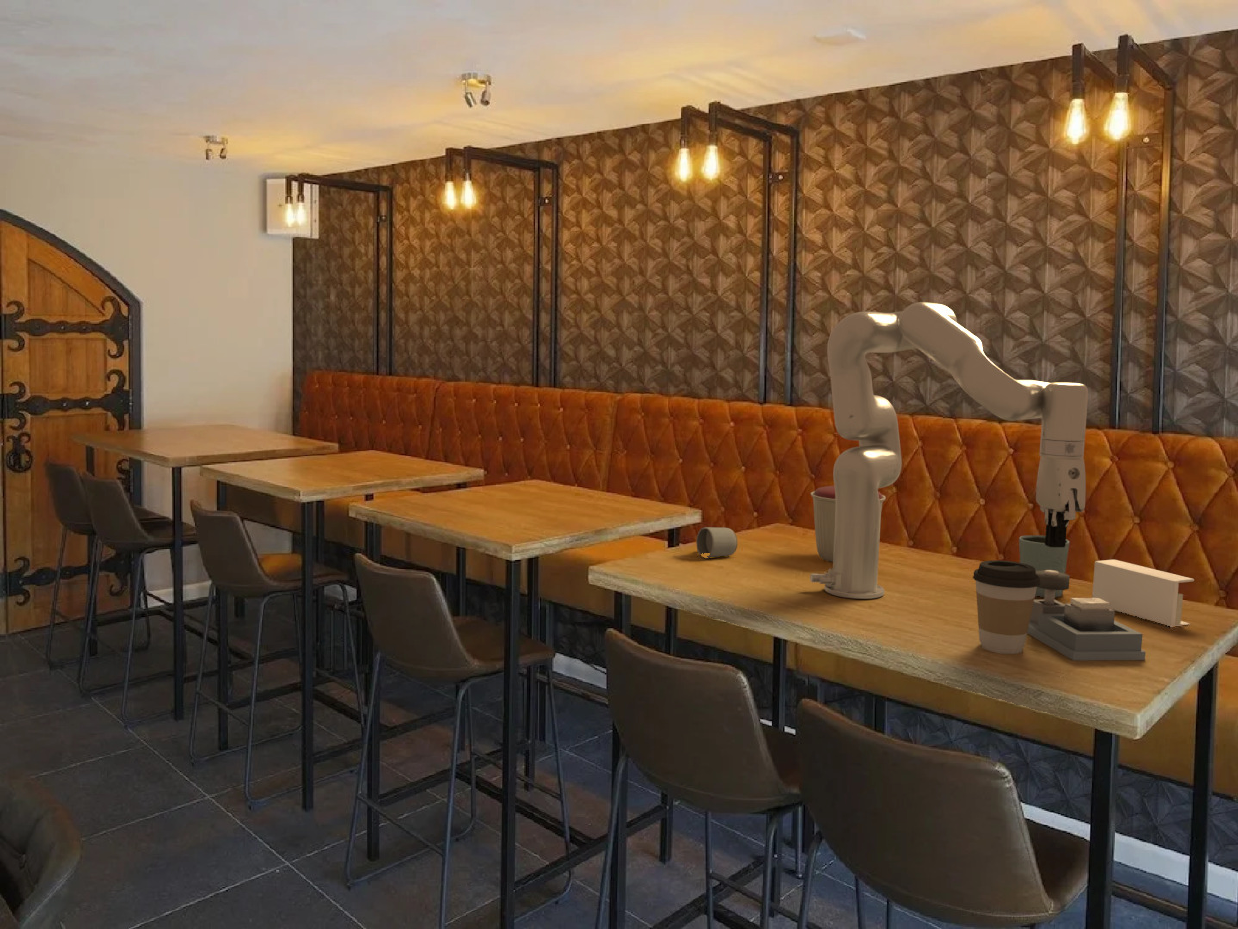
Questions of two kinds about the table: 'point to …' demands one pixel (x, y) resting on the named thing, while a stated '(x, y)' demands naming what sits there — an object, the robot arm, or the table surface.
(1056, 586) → the round knob on base
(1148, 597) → the beige beam
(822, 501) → the canister
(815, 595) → the table surface
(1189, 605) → the table surface
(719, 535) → the ceramic mug
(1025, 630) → the coffee cup
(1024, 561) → the green tumbler
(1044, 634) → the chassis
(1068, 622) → the beige block
